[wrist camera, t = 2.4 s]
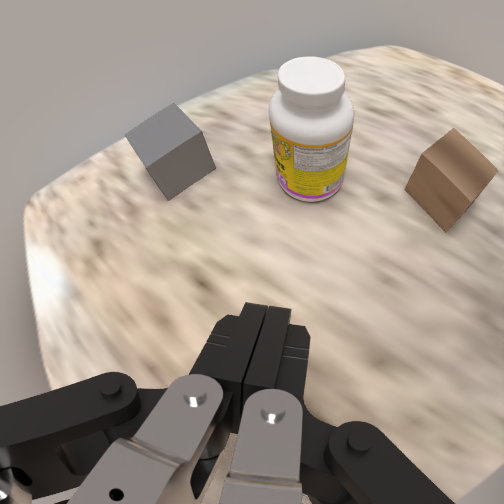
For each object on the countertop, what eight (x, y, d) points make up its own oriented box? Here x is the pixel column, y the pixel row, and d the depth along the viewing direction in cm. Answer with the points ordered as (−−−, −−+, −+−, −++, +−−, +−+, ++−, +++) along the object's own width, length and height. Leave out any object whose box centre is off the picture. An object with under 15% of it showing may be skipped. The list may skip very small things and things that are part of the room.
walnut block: (435, 163, 30) (453, 127, 24) (473, 201, 27) (498, 170, 22) (404, 190, 29) (421, 153, 23) (445, 232, 27) (471, 202, 21)
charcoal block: (189, 139, 35) (173, 102, 29) (216, 168, 33) (201, 131, 27) (146, 168, 34) (124, 134, 29) (168, 201, 32) (145, 167, 26)
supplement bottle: (279, 149, 33) (267, 48, 21) (341, 152, 31) (354, 51, 20) (274, 203, 30) (258, 102, 18) (343, 207, 29) (365, 106, 17)
